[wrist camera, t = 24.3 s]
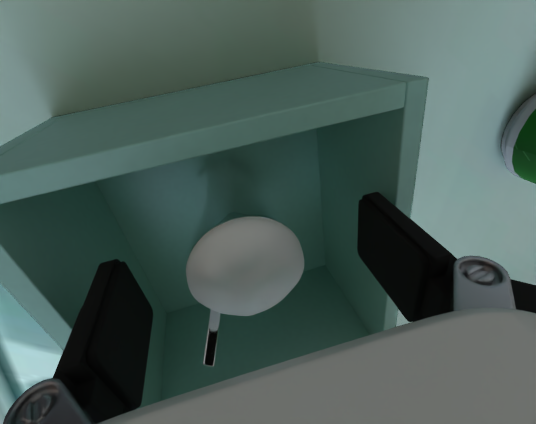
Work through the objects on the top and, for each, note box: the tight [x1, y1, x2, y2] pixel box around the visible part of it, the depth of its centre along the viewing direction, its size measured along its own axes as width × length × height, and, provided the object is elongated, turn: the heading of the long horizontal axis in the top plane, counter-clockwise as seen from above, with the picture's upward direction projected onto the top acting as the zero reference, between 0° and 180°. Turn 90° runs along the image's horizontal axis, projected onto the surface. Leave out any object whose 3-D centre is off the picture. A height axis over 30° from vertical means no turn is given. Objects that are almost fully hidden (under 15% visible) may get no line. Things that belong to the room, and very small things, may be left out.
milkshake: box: [186, 159, 304, 367], centre depth 14 cm, size 4×5×10 cm
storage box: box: [0, 62, 429, 409], centre depth 16 cm, size 16×15×9 cm
